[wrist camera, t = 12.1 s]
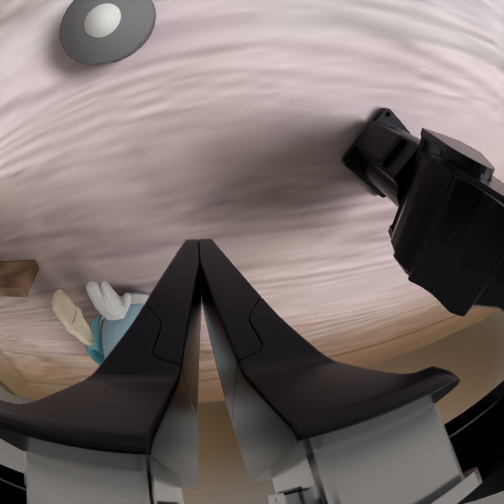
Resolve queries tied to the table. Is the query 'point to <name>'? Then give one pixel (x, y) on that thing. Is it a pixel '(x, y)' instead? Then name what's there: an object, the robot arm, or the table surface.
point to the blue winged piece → (103, 327)
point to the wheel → (106, 29)
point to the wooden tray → (17, 277)
